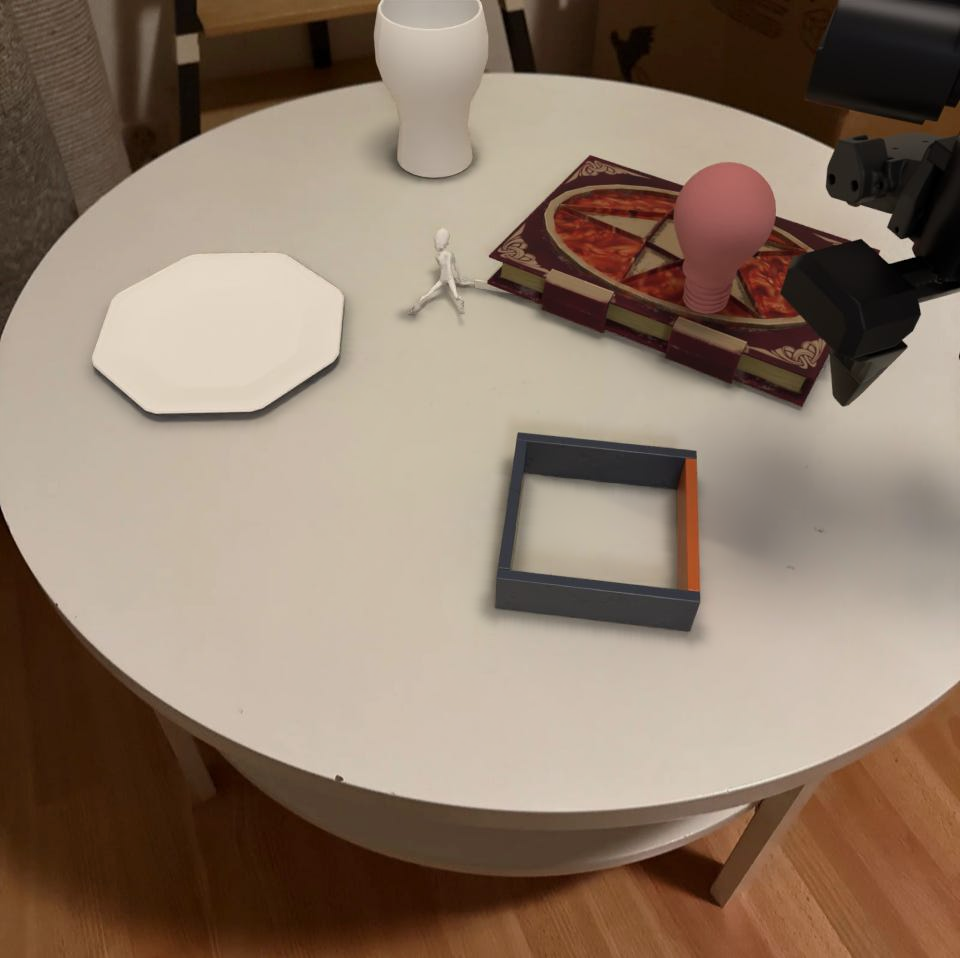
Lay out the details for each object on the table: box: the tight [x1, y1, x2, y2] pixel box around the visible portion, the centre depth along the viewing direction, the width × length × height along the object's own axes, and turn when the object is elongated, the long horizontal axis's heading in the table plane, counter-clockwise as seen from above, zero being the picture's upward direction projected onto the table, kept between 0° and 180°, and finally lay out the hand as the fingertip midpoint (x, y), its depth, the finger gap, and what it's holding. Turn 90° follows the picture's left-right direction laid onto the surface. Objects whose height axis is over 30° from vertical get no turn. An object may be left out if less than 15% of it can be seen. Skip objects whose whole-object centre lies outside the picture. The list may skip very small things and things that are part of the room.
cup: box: [373, 0, 489, 179], centre depth 89 cm, size 11×11×15 cm
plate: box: [90, 252, 345, 417], centre depth 77 cm, size 20×20×2 cm
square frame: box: [494, 431, 701, 632], centre depth 62 cm, size 13×13×4 cm
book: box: [486, 154, 881, 408], centre depth 80 cm, size 28×21×5 cm
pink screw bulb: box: [674, 161, 777, 314], centre depth 68 cm, size 7×7×12 cm
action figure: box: [407, 227, 513, 316], centre depth 79 cm, size 12×5×7 cm
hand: (904, 381), depth 55 cm, fingers open, 9 cm apart
